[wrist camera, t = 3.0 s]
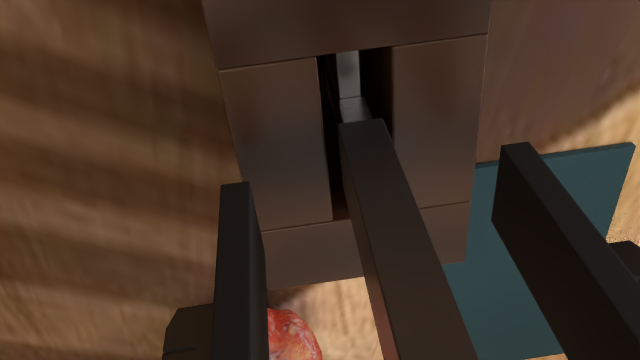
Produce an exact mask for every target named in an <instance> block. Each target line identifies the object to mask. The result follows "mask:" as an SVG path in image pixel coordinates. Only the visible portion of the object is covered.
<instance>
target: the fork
mask: <svg viewBox="0 0 640 360" xmlns="http://www.w3.org/2000/svg"><path fill="white" fill-rule="evenodd" d="M324 57H325V61H326V63H325V64H324V74H325V83H326V87H327V91H328V95H329V99H330V103H331V107H332V110H333V114H334V118H335V122H336V126H337V129H338V141H339V153H340V164H341V171H342V183H343V188H344V193H345V197H346V201H347V205H348V209H349V214H350V218H351V222H352V226H353V231H354V235H355V239H356V243H357V248H358V252H359V256H360V260H361V265H362V269H363V273H364V277H365V282H366V286H367V290H368V294H369V299H370V303H371V307H372V311H373V316H374V320H375V324H376V328H377V333H378V337H379V341H380V345H381V350H382V354H383V358H384V360H479V358H478V355H477V353H476V350H475V348H474V345H473V343H472V340H471V338H470V335H469V333H468V330H467V328H466V325H465V323H464V320H463V318H462V315H461V313H460V310H459V308H458V305H457V303H456V300H455V298H454V295H453V293H452V290H451V288H450V285H449V283H448V280H447V278H446V275H445V273H444V270H443V268H442V265H441V263H440V260H439V258H438V255H437V253H436V250H435V248H434V245H433V243H432V240H431V238H430V235H429V233H428V230H427V228H426V225H425V223H424V220H423V218H422V215H421V213H420V210H419V208H418V205H417V203H416V200H415V198H414V195H413V193H412V190H411V188H410V185H409V183H408V180H407V178H406V175H405V173H404V170H403V168H402V165H401V163H400V160H399V158H398V155H397V153H396V150H395V148H394V145H393V143H392V140H391V138H390V135H389V133H388V130H387V128H386V125H385V123H384V120H383V118H377V119H373V117H372V114H371V111H370V108H369V106H368V103H367V100H366V98H365V96H362V89H361V68H360V50H356V51H349V52H341V53H334V54H327V55H324Z"/></svg>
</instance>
